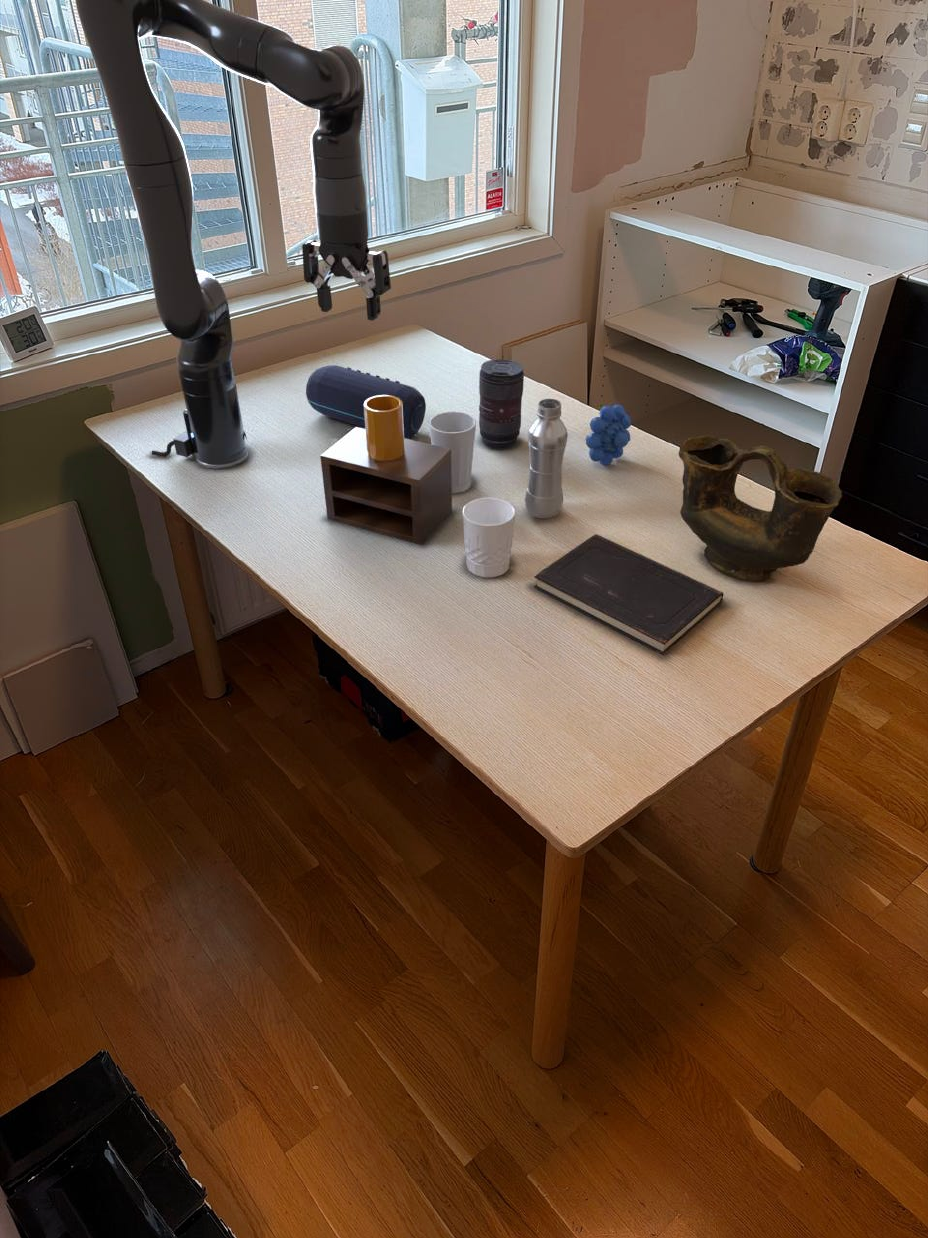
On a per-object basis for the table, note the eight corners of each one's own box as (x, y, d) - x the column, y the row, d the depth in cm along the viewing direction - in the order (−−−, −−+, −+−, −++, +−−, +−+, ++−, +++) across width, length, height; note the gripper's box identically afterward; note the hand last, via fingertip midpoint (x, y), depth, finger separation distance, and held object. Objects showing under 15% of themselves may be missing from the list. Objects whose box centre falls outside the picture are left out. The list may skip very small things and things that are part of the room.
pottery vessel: (651, 546, 148) (667, 435, 136) (686, 519, 155) (705, 410, 142) (797, 610, 136) (830, 493, 123) (828, 576, 142) (863, 462, 129)
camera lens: (521, 451, 173) (524, 376, 164) (478, 451, 173) (479, 375, 164) (520, 431, 179) (523, 357, 170) (478, 430, 179) (479, 357, 170)
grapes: (603, 484, 164) (609, 422, 156) (574, 470, 167) (579, 409, 160) (644, 461, 170) (652, 401, 162) (615, 448, 174) (622, 389, 166)
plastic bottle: (567, 507, 158) (576, 398, 145) (554, 527, 153) (561, 416, 140) (532, 498, 160) (538, 391, 147) (518, 518, 155) (522, 408, 142)
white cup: (477, 585, 140) (478, 530, 134) (454, 559, 146) (453, 505, 140) (522, 571, 143) (524, 517, 137) (497, 546, 149) (499, 492, 142)
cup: (471, 497, 160) (471, 435, 153) (426, 492, 162) (424, 430, 154) (479, 474, 166) (480, 413, 159) (436, 470, 168) (434, 409, 160)
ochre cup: (360, 456, 147) (356, 407, 142) (379, 440, 151) (376, 391, 146) (392, 464, 145) (390, 414, 140) (411, 447, 149) (409, 399, 144)
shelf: (327, 518, 155) (319, 455, 148) (360, 488, 163) (355, 426, 155) (421, 545, 149) (419, 480, 141) (452, 512, 157) (451, 448, 149)
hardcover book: (662, 655, 128) (664, 642, 126) (533, 587, 140) (534, 575, 138) (722, 603, 137) (724, 590, 135) (596, 543, 149) (597, 531, 148)
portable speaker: (436, 430, 180) (434, 382, 173) (406, 451, 173) (404, 402, 167) (334, 400, 190) (330, 353, 184) (303, 418, 184) (297, 371, 177)
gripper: (395, 205, 136) (400, 313, 146) (313, 194, 141) (324, 300, 151) (369, 218, 131) (376, 330, 141) (285, 206, 136) (298, 315, 146)
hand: (349, 314), depth 146 cm, fingers open, 8 cm apart
